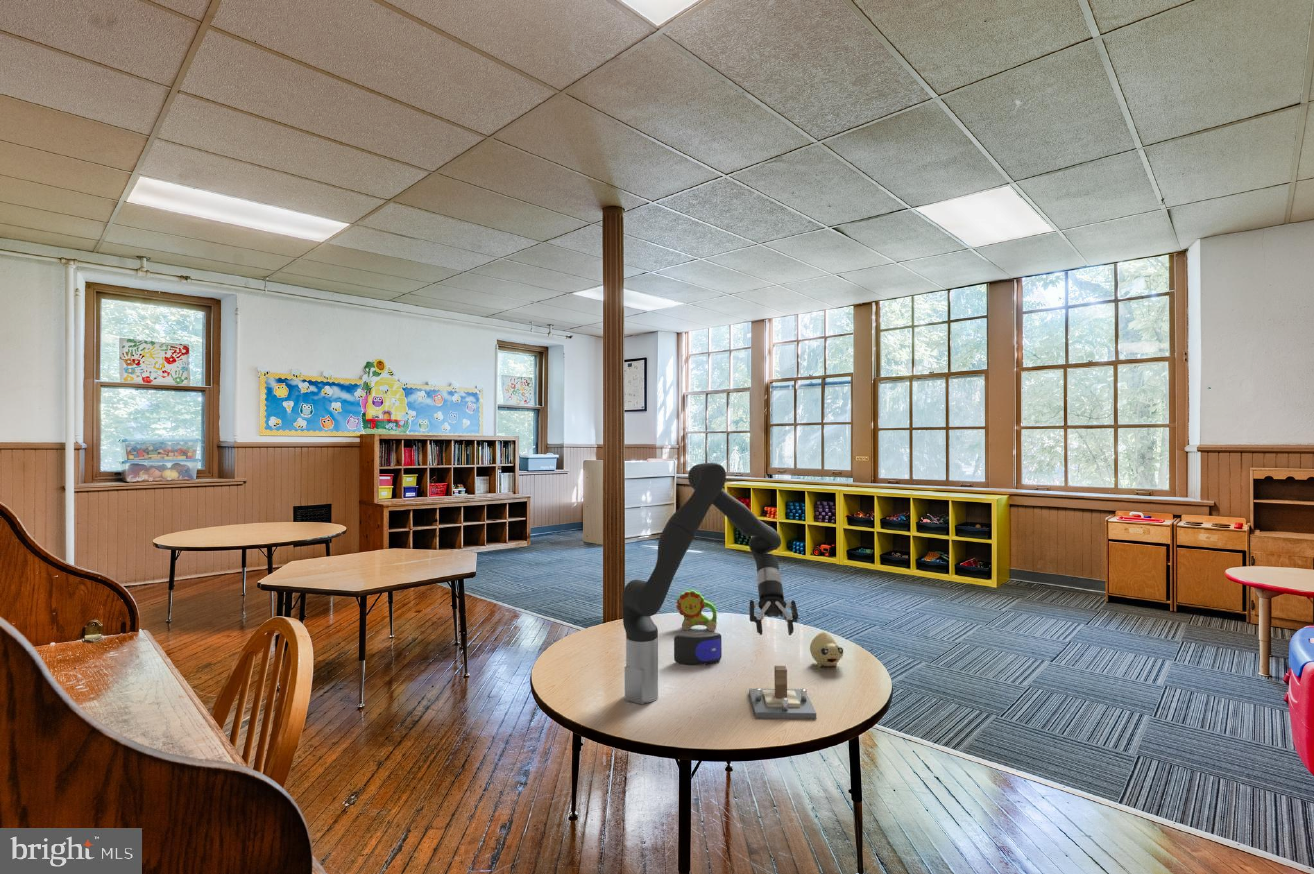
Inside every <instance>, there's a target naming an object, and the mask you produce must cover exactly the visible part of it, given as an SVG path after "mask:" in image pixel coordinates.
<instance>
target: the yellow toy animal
mask: <svg viewBox="0 0 1314 874" xmlns="http://www.w3.org/2000/svg"><path fill="white" fill-rule="evenodd" d="M809 653H810V656H811V657H812V658H813V660H814V661H815V662H816V665H817V667H818V668H821V667H823V666H824V667H833V666H836V667H838V662H839V661H840V660H841V659H842V658H843V656H844V648H843V647H841V646H839V645H838V644H837V642H836V640H835V639H834V638H833V637H832V636H831V635H830V634H829V633H828V632H826V631H824V632H820V633H817V634H816V636H814V638H813V639H812V640H811V642H810V644H809Z"/></svg>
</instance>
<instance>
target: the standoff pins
mask: <svg viewBox="0 0 1314 874" xmlns="http://www.w3.org/2000/svg"><path fill="white" fill-rule="evenodd" d="M754 689H755V700H756V701H761V689H762V688H761V687H756V688H754ZM800 689H801V701H803V702H806V701H807V695H808V693H807V692H808V691H807V689H806V688H800ZM782 711H788V698H782Z"/></svg>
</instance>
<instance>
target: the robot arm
mask: <svg viewBox="0 0 1314 874" xmlns="http://www.w3.org/2000/svg"><path fill="white" fill-rule="evenodd" d="M726 479H727V471H726V469H725V467H724V466H723V465H722V464H721V463H718V462H707V463H706V462H703V463H698V464H695V465H693V466H692V467H691V468H690V469H689V471H688V475H687V480H688V484H689V485H690V487H691V489H693V490H694V491H693V492H692V494H691V496H690V497H689V498H688V499H687V501H686V502H684V504H683V505H681V506H680V507H679V508H678V509H677V510H675V512H674V513H673V514H671V517H670V518H669V519H668V521H667V522H666V524H665V526H664V528H663V529H662V531H661V533H660V536H659V539H658V541H657V542H658V543H657V559H656V563H655V566H654V569H653V570H652V573H651V574H650V576H649V578H648V580H647V581H645V580H642V579H632V580H630V581H629V582H628V583H626V585H625V587H624V589H623V592H622V598H621V601H622V602H621V603H622V604H621V606H622V607H621V609H622V610H621V611H622V623H623V624H622V625H623V629H624V630H625V635H626V636H625V644H626V645H625V666H624V700H625V701H628V702H631V703H636V704H638V705H639V704H640V705H644V704H647V703H651V702H654V701H656V700H657V699H658V698H659V629H658V626H657V625H656V624H655V623H654V621H653V619H652V618H651V617H652V616H655V615H656V614H657V613H658V612H659V611H660V610H661V608H662V606H663V604H664V602H665V600H666V598H667V595H668V592H669V590H670V587H671V584H672V582H673V580H674V578H675V575H676V573H677V572H678V569H679V567H680V565H681V563H682V561H683V559H684V556H685V555H686V553H687V552H688V550H689V548H690V546H691V544H692V542H693V541H694V539H695V536H696V534H697V532H698V530H699V528H700V526H701V525H702V523H703V521H704V519H705V518H706V516H707V513H708V512H709V510H710V508H711V506H712V505H713V506H714V507H716V508H717V510H719V511H720V512H721V513H722V514H723V515H724V516H725V517H726V518H727V519H728V520H729V521H730V522H731V523H732V524H733V526H735V527H736V528H737V530H738V531H739V532H740V533H741V534H742V535H743V536H745V537H747V538H748V537H750V538H749V541H748V547H749V550H750V552H751V554H752V557H753V559H754V561H755V565H756V566H755V567H756V574H757V577H756V582H757V585H756V586H757V589H758V590H757V591H758V600H759V601H754V599H750V600H749V605H748V608H749V609H748V610H749V614H748V615H749V621H750V622H752V623H755V624H756V632H757V634H759V636H762V635H763V623H762V621H763V620H764V619H765V617H769V618H770V617H775V618H776V617H777V618H779V617H781V619H782V620H784V621H785V623H786V625H787V634H788V636H792V634H793V633H794V631H795V630H794V629H795V628H794V623H797V622H798V619H799V613H798V608H797V603H796V601H795V600H794V599H793V600H791V601H787V602H786V601H785V596H784V588H783V582H782V576H781V572H780V566H779V565H780V564H779V560H778V557H777V556H776V555H774V554H773V553H771V552H773V551H775V550H777V549H779V548H780V547H781V544H782V539H781V535H780V534H779V532H778V531H776V529H774V527H772V526H769V525H768V524H766V523H765V522H763V521H762V520H760V519H759V518H758V517H757V516H756V515H755V514H754V512H752V510H751V509H750V508H748V506H746V505H745V503H742V502H741V501H740V500H738V499H736V498H735V497H734V496H732V495H731V494H729V493H728V492H727V491H725V490H724V489H723V488H724V486H725V483H726V482H727V480H726ZM757 607H758V608H759V610H760V612H759V613H758V614H757V616H756V615H755V610H756V609H757ZM786 607H787V608H788V609H789V610H790V611H791V614H789V612H788V611H787V609H786ZM791 615H792V616H791Z"/></svg>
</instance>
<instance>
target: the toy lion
mask: <svg viewBox="0 0 1314 874" xmlns="http://www.w3.org/2000/svg"><path fill="white" fill-rule="evenodd" d="M675 607H676V610H677V611H678V613H679V615H681V616H683V620H682V624H681V627H682V629H683V630H684V631H689V630H691V628H692V627H695V626H703V627H706V628H707V630H708V631H709V632H714V631H716V629H717V624H718V622H717V620H718V617H717V616H718V615H717V608H716V606H715V605H714V604H713V603H712V602H710V601H708V600H705V597H704V596H702V593H701V592H699V591H698V592H697V591H696V590H695V589H691V590H685V591H684V592H681V593H680V595H679V596H678V597H677V599H676V606H675ZM705 608H709V609H710V610H711V612H712V618H709V617H708V616H706V614H703V613H702V611H703V609H705Z"/></svg>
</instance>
